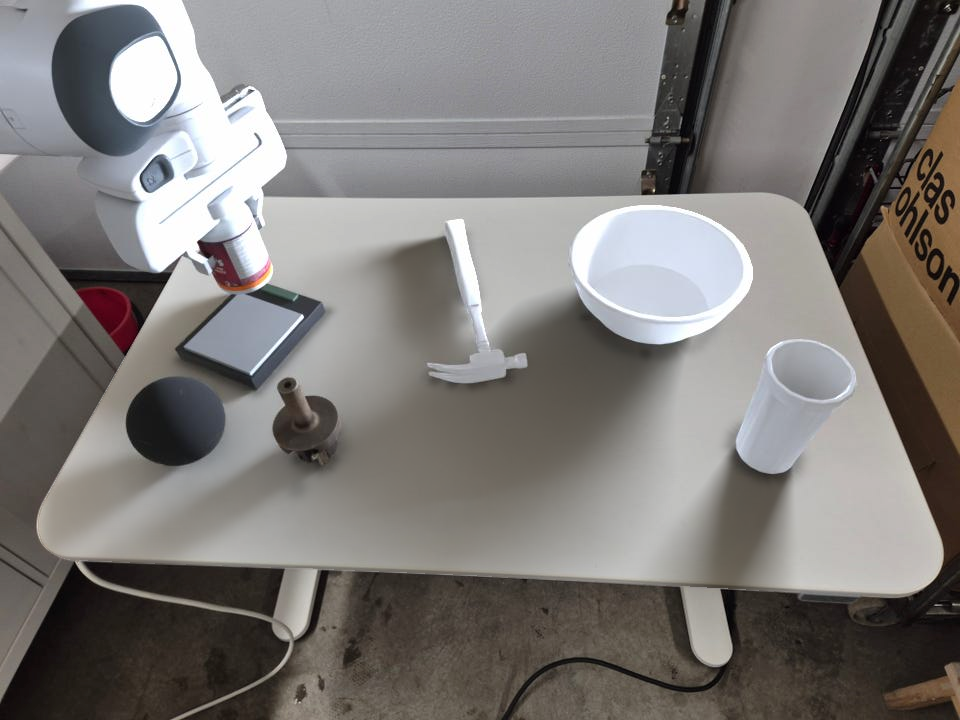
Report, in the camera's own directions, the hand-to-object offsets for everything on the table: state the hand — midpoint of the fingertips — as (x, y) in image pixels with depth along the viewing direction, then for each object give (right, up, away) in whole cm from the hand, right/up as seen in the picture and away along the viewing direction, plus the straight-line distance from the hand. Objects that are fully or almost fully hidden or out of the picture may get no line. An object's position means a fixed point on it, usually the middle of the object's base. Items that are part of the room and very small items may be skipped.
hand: (232, 248), depth 65 cm
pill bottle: (0, -3, +3) cm, 4 cm away
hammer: (+24, -4, +21) cm, 32 cm away
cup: (+58, -22, +3) cm, 62 cm away
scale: (-4, -8, +18) cm, 21 cm away
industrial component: (+7, -23, +6) cm, 25 cm away
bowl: (+49, -5, +18) cm, 53 cm away
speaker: (-7, -22, +8) cm, 24 cm away
